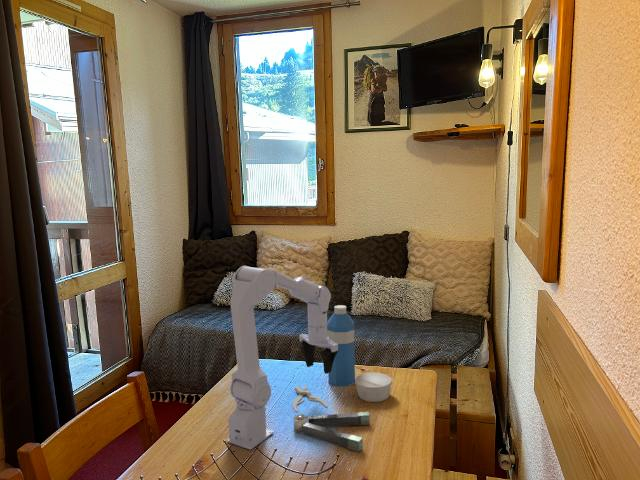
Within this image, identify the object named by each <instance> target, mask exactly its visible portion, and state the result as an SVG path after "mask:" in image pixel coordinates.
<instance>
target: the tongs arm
mask: <svg viewBox="0 0 640 480" xmlns="http://www.w3.org/2000/svg"><path fill="white" fill-rule="evenodd" d="M307 419H308V423H310V424H314V425H317V426H321V427H324V428H327V427H343V426H344V427H345V426H349V427H350V426H366V425H367V426H368V425H369V426H370V425H371V423H370V421H371V420H370V411H360V412H359V411H357V412H355V413H339V414H338V413H336V414H318V415H307Z"/></svg>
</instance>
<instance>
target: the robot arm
mask: <svg viewBox="0 0 640 480" xmlns="http://www.w3.org/2000/svg"><path fill="white" fill-rule="evenodd" d="M231 282H232V293H231V296H230V311H231V320H232V321H231V322H232V330H233V337H234V338H233V339H234V346H235V347H234V348H235V355H236V366H237V368H236V369H235V370H234V371H233V372H232V373H231V382H230V386H229V387H230V388H229V391H230V395H231V397H232V398H234V400H235V401H234V402H235V403H236V407H235V409H234V410H233V412H232V413H231V414H230V415H229V417H228V437H229V438H227V439H226V441H227V443H230V444H232V445H235V446H238V447H241V448H243V449H248V450H253V449H254V448H255V447H256V446H258V445H259V444H260V443H262V442H263V441H265V440H266V439H267V438H269V437H270V436H272V435H273V434H274V430H272V429H268V428H267V415H266V414H267V413H266V405H268V402H269V401H270V398H271V397H272V387H271V385H270V383H269V381H268V376H267V375H266V373H265V372H264V370H263V369H262V368H261V366H260V359H259V348H258V338H257V328H256V319H255V309H254V308H255V307H256V306H257V305H258V304H260V302H262V301H263V300H265V298H266V297H267V296H268V295H269V294H270V293H272V292H273V290H274V289H277V288H282V289H285V290H288V292H289V295H290V296H292V297H293V298H296V299H299V300H301V301H303V302H304V303H305V304H307V334H305V333H303V334H302V333H301V334H299V342H301V343H300V344H298V348H299V350H300V351H301V353H302V355H303V359H304V361H305V362H304V363H305V365H306V367H307V368H310V367H312V366H314V362H315V349H316V347H319V348H323V350H321V351H319V353H320V356H321V359H322V362H323V365H322V366H323V373H324V374H326V375H328V373H330V372H331V369H332V365H333V361H334V359H335V357H336V355H337V353H338V344H336V343H334V342H332V341H331V340H329V337H328V334H327V322H328V311H329V304H330V301H331V298H332V294H331V291H330V290H329V288H328V287H327V286H325V285H318V283H317V282H316V281H311V280H308V277H306V276H302V275H301V276H299V277H294V278H292V277H290V276H288V275H286V274H284V273H282V272H280V271H277V270H274V269H273V270H272V269H270V268H262V267H251V266H248V265H242V266H240V267H239V268H238V269H237V270H236V271H235V272H234V274H233V275H232V277H231Z"/></svg>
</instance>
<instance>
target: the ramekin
mask: <svg viewBox="0 0 640 480" xmlns="http://www.w3.org/2000/svg"><path fill="white" fill-rule="evenodd" d="M354 384H355V385H356V390H357V394H358V397H359V398H360V399H362V400H363V401H365V402H370V403H379V402H384V401H385V400H387V399H388V398H389V397H390V394H391V390H392V389H391V388H392V384H393V379H392V377H390V375H388V374H385V373H382V372H366V373H361V374H359V375H357V376H355V383H354Z"/></svg>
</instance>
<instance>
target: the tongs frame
mask: <svg viewBox="0 0 640 480" xmlns="http://www.w3.org/2000/svg"><path fill="white" fill-rule="evenodd" d="M293 431H294V432H295V433H296V434H297V433H298V434H303V435H304V436H307V437H311V438H314V439H318V440H321V441H324V442H327V443H331V444H332V445H333V444H334V445H337V446H341V447H344V448H346V449H348V450H352V451H354V452H358V453H359V452H360V451H361V450H362V449H363V440H364V439H363V437H361V436H357V435H354V434H349V433H344V432H341V431H337V430H334V429H332V428H331V429H330V428H327V427H321V426H317V425H314V424H310V423H309V422H308V416H306V415H304V414H302V413H299V414H296V415H294V417H293Z"/></svg>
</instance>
